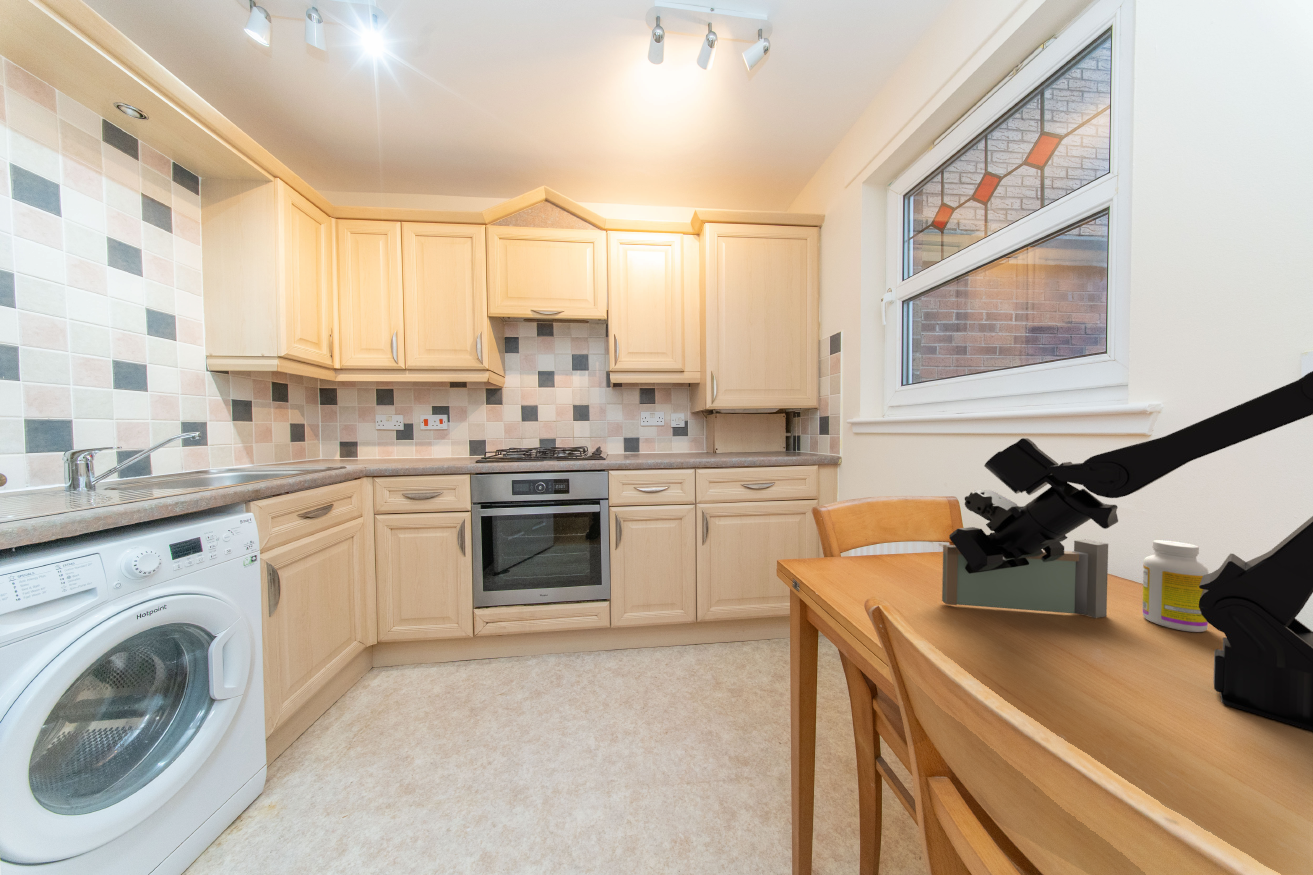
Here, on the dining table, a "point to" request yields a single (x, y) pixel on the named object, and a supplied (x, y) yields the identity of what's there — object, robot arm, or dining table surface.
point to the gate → (1019, 584)
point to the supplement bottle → (1173, 586)
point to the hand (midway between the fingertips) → (968, 570)
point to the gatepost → (1095, 575)
